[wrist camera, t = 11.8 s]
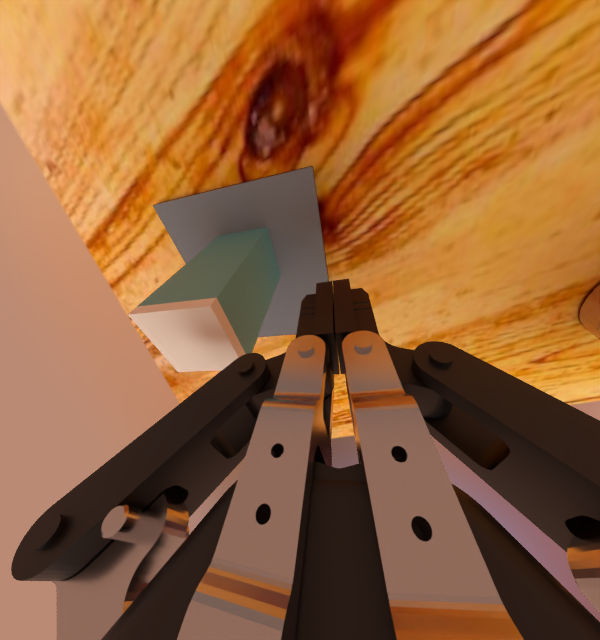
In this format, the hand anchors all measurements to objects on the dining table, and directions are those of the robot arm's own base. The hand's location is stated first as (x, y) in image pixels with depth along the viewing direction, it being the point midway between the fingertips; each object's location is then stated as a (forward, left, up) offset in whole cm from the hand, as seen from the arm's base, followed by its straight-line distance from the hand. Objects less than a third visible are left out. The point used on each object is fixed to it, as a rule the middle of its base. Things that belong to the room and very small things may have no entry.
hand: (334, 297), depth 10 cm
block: (+7, 0, -8) cm, 10 cm away
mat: (+7, +2, -8) cm, 11 cm away
